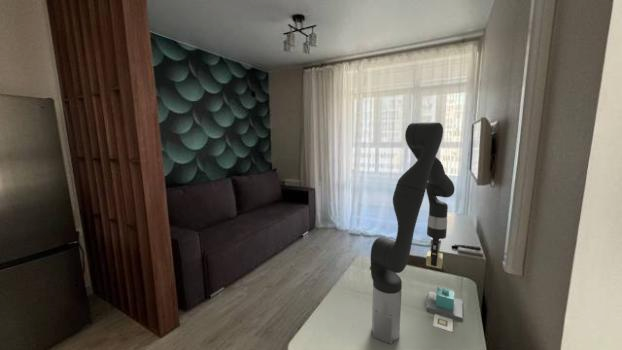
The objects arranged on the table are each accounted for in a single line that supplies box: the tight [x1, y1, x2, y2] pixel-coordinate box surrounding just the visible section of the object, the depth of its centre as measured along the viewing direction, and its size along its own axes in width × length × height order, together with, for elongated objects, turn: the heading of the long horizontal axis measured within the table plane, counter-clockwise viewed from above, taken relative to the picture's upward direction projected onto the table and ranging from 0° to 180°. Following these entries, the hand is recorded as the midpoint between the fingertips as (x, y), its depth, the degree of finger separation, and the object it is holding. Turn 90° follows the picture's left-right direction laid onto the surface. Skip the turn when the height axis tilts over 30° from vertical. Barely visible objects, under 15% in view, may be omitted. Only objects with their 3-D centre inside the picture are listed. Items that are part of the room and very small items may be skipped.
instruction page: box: [432, 313, 454, 333], centre depth 91 cm, size 7×6×1 cm
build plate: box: [426, 290, 464, 322], centre depth 100 cm, size 12×12×2 cm
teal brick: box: [436, 286, 455, 310], centre depth 99 cm, size 6×6×6 cm
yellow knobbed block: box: [425, 250, 444, 270], centre depth 111 cm, size 6×6×6 cm
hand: (434, 262), depth 111 cm, fingers closed on yellow knobbed block, 6 cm apart
